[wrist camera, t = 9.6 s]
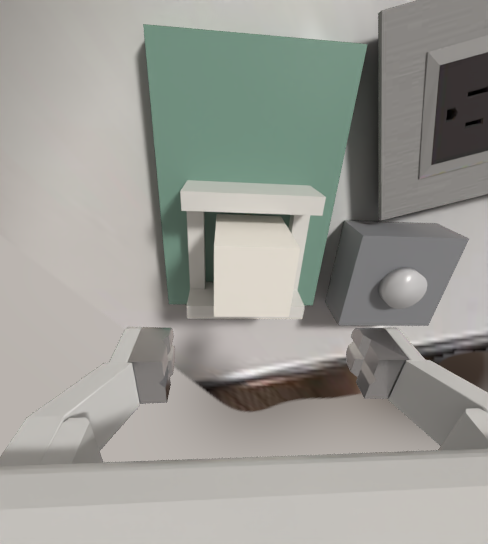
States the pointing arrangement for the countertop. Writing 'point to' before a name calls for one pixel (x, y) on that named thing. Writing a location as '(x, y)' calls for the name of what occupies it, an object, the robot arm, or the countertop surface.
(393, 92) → the electrical outlet
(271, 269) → the plug
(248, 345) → the countertop surface
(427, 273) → the grey push button
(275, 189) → the board
